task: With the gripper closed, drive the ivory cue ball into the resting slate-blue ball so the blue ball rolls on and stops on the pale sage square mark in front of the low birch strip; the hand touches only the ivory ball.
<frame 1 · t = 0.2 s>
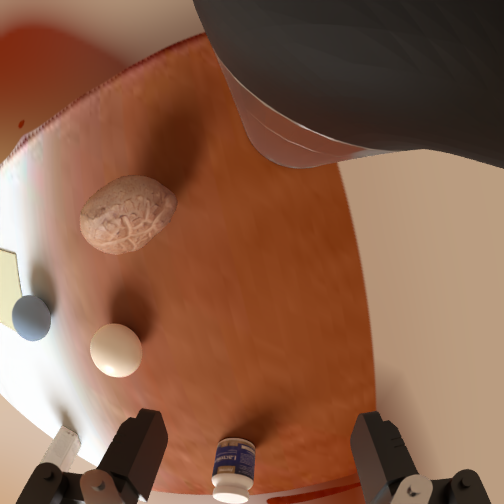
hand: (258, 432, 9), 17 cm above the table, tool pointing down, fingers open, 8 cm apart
blue ball: (31, 318, 25), on the table
cue ball: (116, 350, 25), on the table
mushroom: (152, 209, 25), on the table
skincare box: (73, 435, 38), on the table
pill bottle: (236, 445, 33), on the table
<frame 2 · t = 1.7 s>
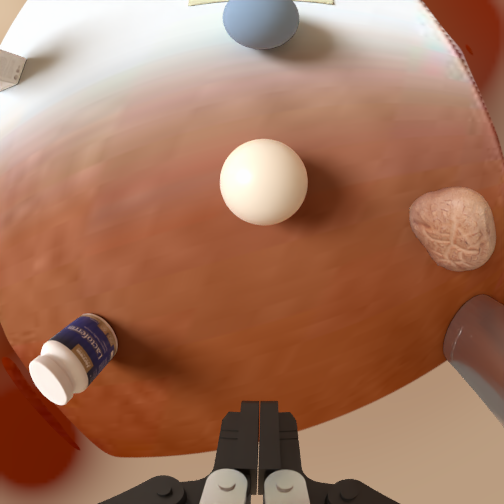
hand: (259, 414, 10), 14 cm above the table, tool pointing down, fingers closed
blue ball: (261, 17, 15), on the table
cue ball: (263, 181, 18), on the table
mushroom: (424, 224, 21), on the table
skincare box: (12, 77, 19), on the table
pill bottle: (98, 334, 26), on the table
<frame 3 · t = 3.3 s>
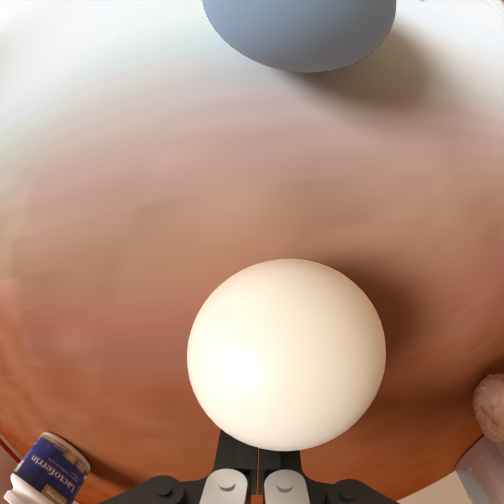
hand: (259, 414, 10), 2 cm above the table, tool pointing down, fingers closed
cue ball: (287, 356, 8), on the table, touching gripper
mushroom: (483, 374, 12), on the table
pill bottle: (67, 448, 16), on the table
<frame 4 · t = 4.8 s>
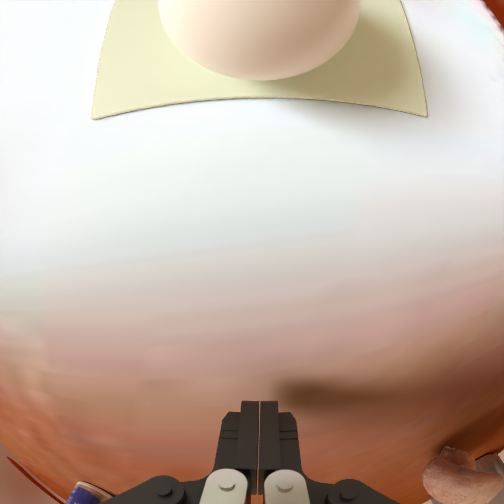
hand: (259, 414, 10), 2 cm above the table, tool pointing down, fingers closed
mushroom: (442, 445, 13), on the table
pill bottle: (100, 492, 17), on the table
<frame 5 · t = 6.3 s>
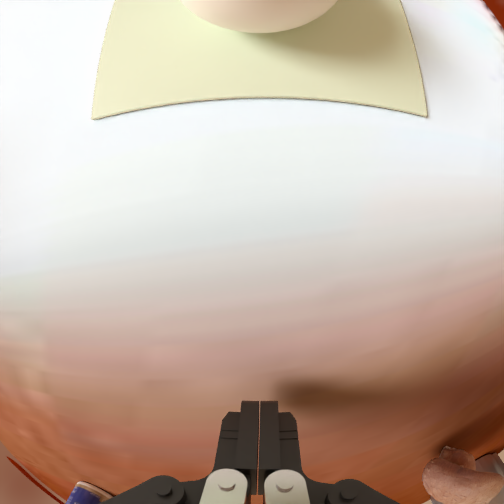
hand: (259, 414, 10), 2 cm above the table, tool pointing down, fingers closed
mushroom: (442, 445, 13), on the table
pill bottle: (100, 492, 17), on the table
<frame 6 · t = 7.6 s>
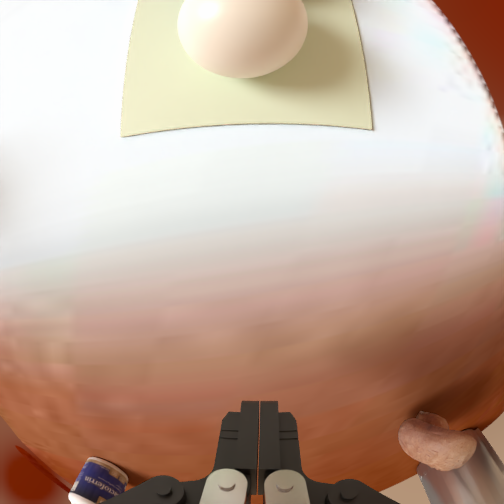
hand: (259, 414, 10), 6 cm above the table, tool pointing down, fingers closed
cue ball: (242, 22, 9), on the table
mushroom: (417, 410, 18), on the table
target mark: (242, 21, 12), on the table
pill bottle: (108, 467, 22), on the table
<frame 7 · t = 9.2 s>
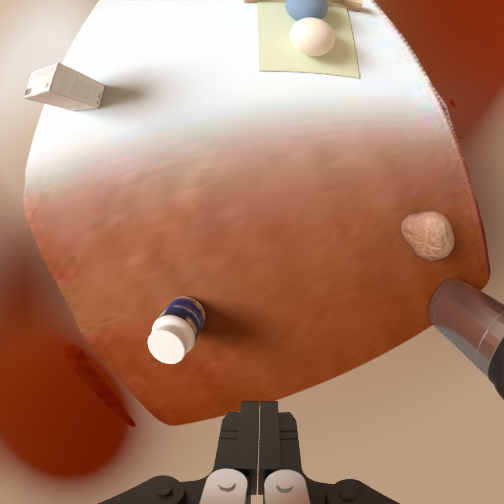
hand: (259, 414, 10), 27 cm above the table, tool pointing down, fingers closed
blue ball: (306, 6, 25), on the table
stopper strip: (302, 0, 27), on the table
cue ball: (312, 36, 27), on the table
mushroom: (411, 231, 35), on the table
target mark: (307, 34, 29), on the table
skincare box: (88, 99, 32), on the table
pill bottle: (187, 312, 39), on the table
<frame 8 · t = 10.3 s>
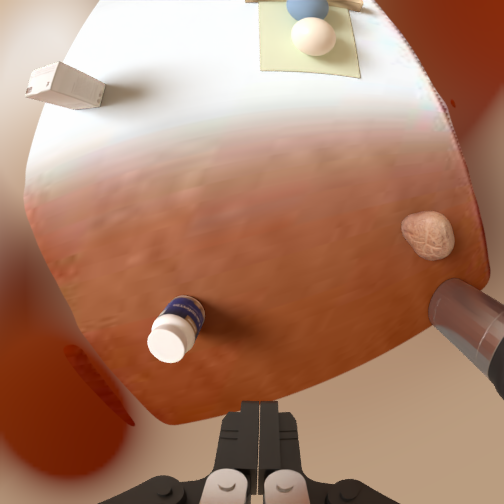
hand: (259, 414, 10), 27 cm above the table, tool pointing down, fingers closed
blue ball: (307, 6, 25), on the table
stopper strip: (303, 0, 27), on the table
cue ball: (313, 36, 27), on the table
mushroom: (411, 231, 35), on the table
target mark: (308, 34, 29), on the table
skincare box: (89, 98, 32), on the table
pill bottle: (187, 311, 39), on the table
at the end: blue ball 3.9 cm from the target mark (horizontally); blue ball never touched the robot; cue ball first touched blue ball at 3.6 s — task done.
